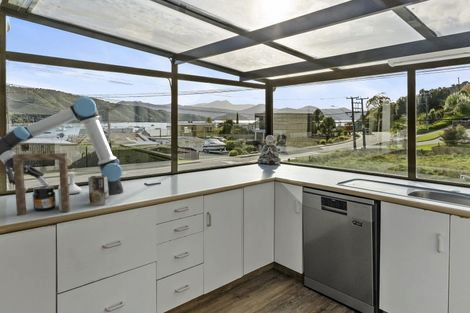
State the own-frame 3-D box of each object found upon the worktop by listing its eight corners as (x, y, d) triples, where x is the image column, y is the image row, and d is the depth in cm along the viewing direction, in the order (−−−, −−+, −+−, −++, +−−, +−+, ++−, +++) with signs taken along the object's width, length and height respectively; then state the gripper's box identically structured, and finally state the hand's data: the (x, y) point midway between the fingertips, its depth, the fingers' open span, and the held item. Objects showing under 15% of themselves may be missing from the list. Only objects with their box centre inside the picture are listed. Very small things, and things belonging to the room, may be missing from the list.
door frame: (69, 210, 162) (66, 153, 158) (68, 212, 159) (64, 153, 156) (19, 213, 156) (15, 154, 153) (17, 215, 153) (12, 154, 150)
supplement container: (48, 211, 160) (46, 189, 158) (28, 211, 160) (27, 189, 159) (60, 206, 170) (59, 185, 169) (42, 206, 170) (40, 185, 169)
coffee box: (109, 202, 180) (108, 175, 178) (105, 205, 173) (104, 177, 172) (94, 202, 180) (92, 175, 178) (89, 205, 173) (87, 177, 172)
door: (66, 210, 161) (65, 187, 160) (59, 210, 160) (58, 188, 158) (67, 203, 174) (66, 183, 173) (61, 204, 173) (59, 183, 172)
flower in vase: (83, 191, 211) (81, 155, 209) (80, 194, 200) (78, 157, 198) (62, 192, 207) (60, 156, 205) (58, 195, 197) (55, 157, 194)
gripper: (27, 162, 179) (51, 188, 177) (-15, 168, 154) (12, 198, 153) (34, 153, 177) (58, 179, 176) (-7, 158, 153) (20, 188, 151)
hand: (37, 188), depth 164 cm, fingers open, 13 cm apart
